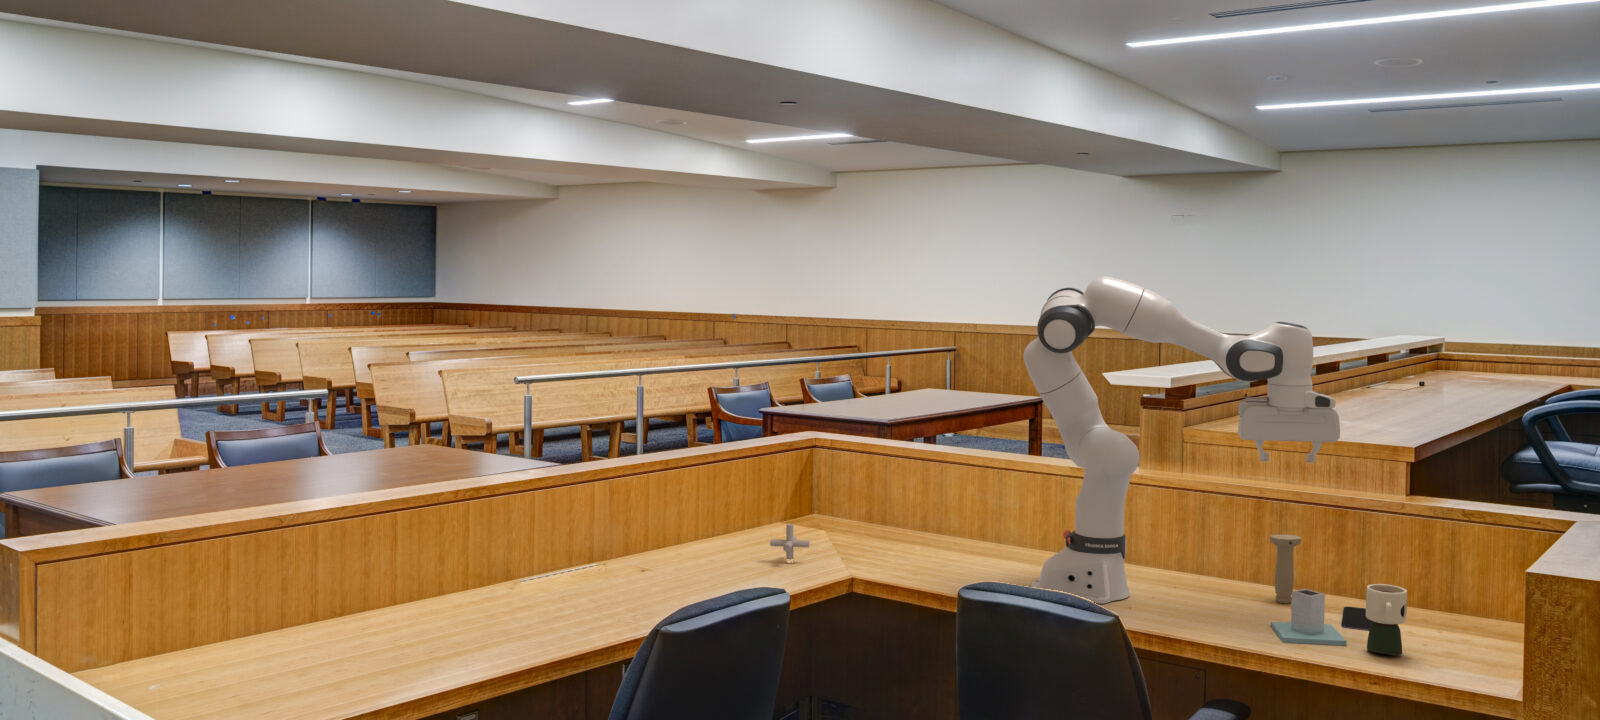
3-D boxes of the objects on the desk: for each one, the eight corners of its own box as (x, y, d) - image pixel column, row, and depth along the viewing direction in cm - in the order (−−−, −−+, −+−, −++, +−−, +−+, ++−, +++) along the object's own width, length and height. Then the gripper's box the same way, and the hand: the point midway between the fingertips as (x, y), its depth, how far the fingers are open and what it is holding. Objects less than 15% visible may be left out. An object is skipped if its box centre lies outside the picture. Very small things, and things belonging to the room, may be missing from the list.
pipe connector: (806, 568, 290) (806, 529, 289) (767, 566, 292) (767, 528, 291) (811, 558, 300) (811, 521, 299) (774, 557, 301) (774, 519, 301)
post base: (1283, 642, 232) (1284, 608, 232) (1270, 626, 243) (1271, 593, 242) (1346, 645, 230) (1347, 611, 229) (1331, 629, 241) (1332, 596, 240)
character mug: (1408, 664, 219) (1410, 597, 218) (1366, 659, 222) (1369, 593, 221) (1401, 647, 229) (1403, 583, 228) (1361, 642, 232) (1364, 579, 231)
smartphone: (1340, 626, 242) (1343, 605, 255) (1340, 631, 242) (1343, 610, 255) (1379, 631, 239) (1380, 610, 252) (1379, 636, 239) (1380, 615, 252)
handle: (1302, 604, 259) (1304, 539, 257) (1274, 605, 258) (1276, 539, 257) (1292, 598, 263) (1294, 534, 262) (1264, 599, 263) (1266, 534, 262)
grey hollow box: (1304, 626, 239) (1305, 588, 239) (1323, 632, 235) (1325, 594, 235) (1290, 629, 237) (1292, 591, 237) (1309, 635, 233) (1311, 596, 233)
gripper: (1241, 398, 245) (1239, 462, 246) (1343, 400, 241) (1341, 465, 242) (1235, 395, 251) (1233, 457, 252) (1335, 397, 247) (1332, 460, 248)
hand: (1287, 461), depth 247 cm, fingers open, 8 cm apart
